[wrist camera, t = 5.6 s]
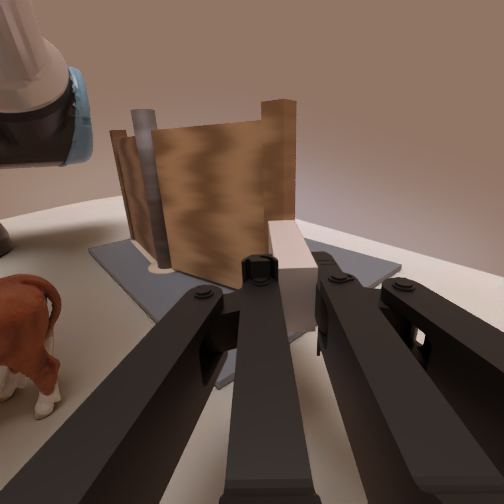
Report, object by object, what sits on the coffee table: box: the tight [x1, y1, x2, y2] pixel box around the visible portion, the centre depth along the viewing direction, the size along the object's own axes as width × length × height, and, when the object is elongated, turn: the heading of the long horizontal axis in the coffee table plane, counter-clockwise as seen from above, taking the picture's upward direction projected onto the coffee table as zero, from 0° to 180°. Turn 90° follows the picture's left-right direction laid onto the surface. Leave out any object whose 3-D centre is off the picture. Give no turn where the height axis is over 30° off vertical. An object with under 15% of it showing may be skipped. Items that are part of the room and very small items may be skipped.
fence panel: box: [151, 99, 296, 290], centre depth 24 cm, size 13×2×14 cm, turn 55°
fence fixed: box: [109, 109, 172, 269], centre depth 33 cm, size 14×2×16 cm, turn 35°
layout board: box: [88, 238, 402, 389], centre depth 33 cm, size 30×22×1 cm
